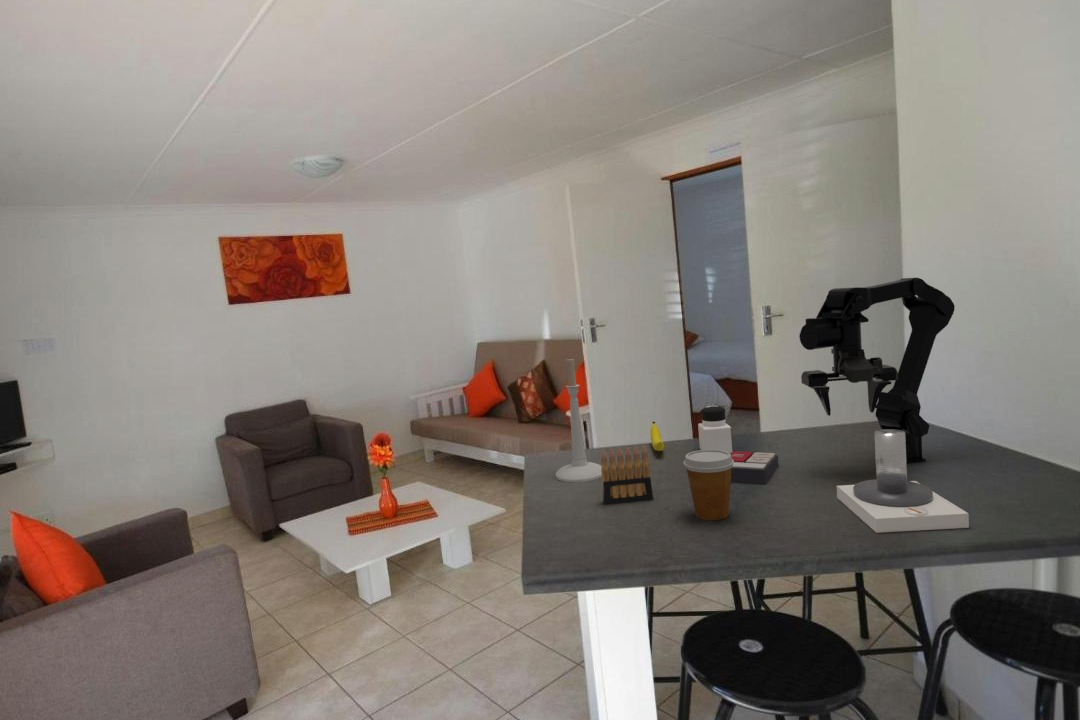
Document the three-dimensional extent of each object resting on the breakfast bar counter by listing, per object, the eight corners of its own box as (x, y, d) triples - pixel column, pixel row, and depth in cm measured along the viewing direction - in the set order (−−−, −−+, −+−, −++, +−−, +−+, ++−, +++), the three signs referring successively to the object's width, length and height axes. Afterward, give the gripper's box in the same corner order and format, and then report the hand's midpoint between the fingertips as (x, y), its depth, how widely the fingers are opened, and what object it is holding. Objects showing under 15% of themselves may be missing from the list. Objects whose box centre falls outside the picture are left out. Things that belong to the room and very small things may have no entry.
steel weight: (888, 483, 121) (886, 427, 119) (913, 489, 116) (911, 432, 115) (871, 489, 119) (868, 432, 117) (895, 495, 114) (893, 437, 113)
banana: (656, 460, 164) (654, 437, 163) (650, 443, 183) (648, 421, 182) (667, 460, 164) (665, 436, 163) (660, 442, 182) (658, 421, 182)
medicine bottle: (733, 453, 164) (730, 408, 163) (705, 455, 164) (702, 410, 163) (725, 446, 171) (722, 403, 170) (699, 448, 171) (696, 405, 170)
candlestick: (594, 464, 167) (584, 352, 163) (614, 476, 154) (603, 355, 151) (549, 472, 163) (537, 358, 160) (566, 485, 151) (554, 362, 147)
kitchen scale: (915, 493, 124) (915, 475, 123) (968, 527, 106) (968, 507, 106) (837, 497, 125) (836, 481, 125) (876, 532, 108) (875, 513, 107)
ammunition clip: (604, 504, 135) (599, 450, 133) (603, 502, 137) (598, 448, 135) (653, 499, 135) (649, 445, 134) (651, 497, 137) (647, 443, 135)
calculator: (778, 451, 150) (764, 466, 137) (779, 469, 150) (765, 485, 137) (731, 449, 156) (714, 463, 143) (732, 466, 156) (715, 482, 143)
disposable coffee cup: (683, 508, 128) (678, 451, 127) (729, 504, 128) (726, 447, 126) (693, 525, 119) (688, 464, 117) (743, 521, 118) (739, 459, 117)
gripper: (815, 352, 131) (819, 424, 133) (909, 344, 129) (911, 418, 131) (798, 347, 142) (802, 414, 144) (885, 339, 140) (887, 407, 142)
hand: (850, 413), depth 140 cm, fingers open, 9 cm apart
